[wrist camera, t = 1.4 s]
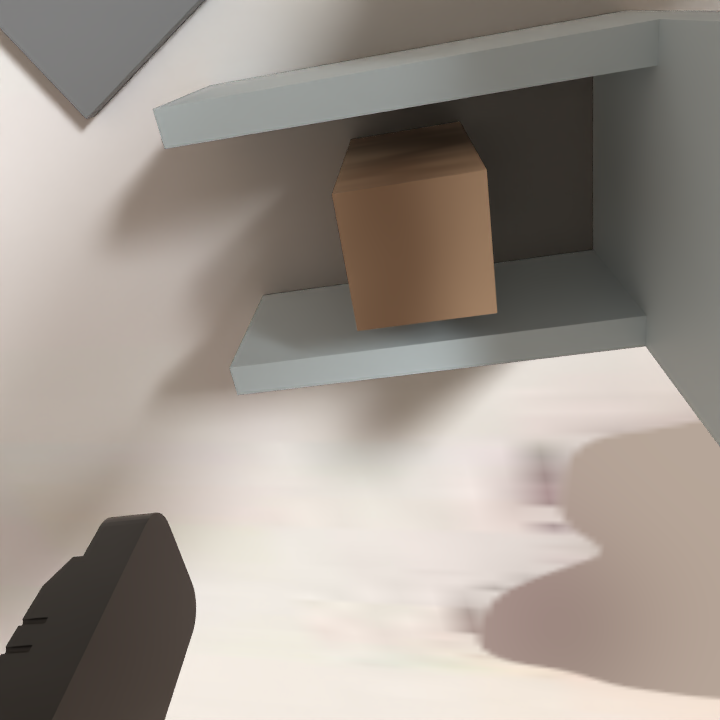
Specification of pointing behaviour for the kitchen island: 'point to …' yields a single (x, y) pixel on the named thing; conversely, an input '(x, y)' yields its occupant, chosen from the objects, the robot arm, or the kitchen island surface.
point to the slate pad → (91, 41)
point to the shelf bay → (534, 275)
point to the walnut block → (415, 227)
